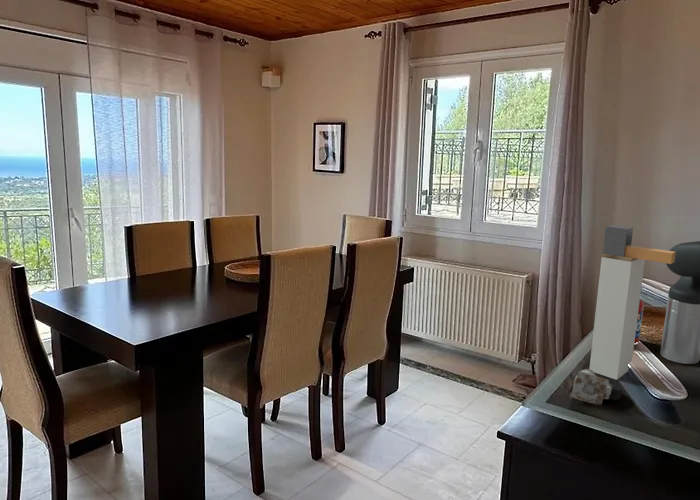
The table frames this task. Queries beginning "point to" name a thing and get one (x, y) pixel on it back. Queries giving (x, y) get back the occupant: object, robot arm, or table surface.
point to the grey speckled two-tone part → (594, 388)
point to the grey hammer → (620, 245)
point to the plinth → (616, 315)
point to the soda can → (639, 320)
